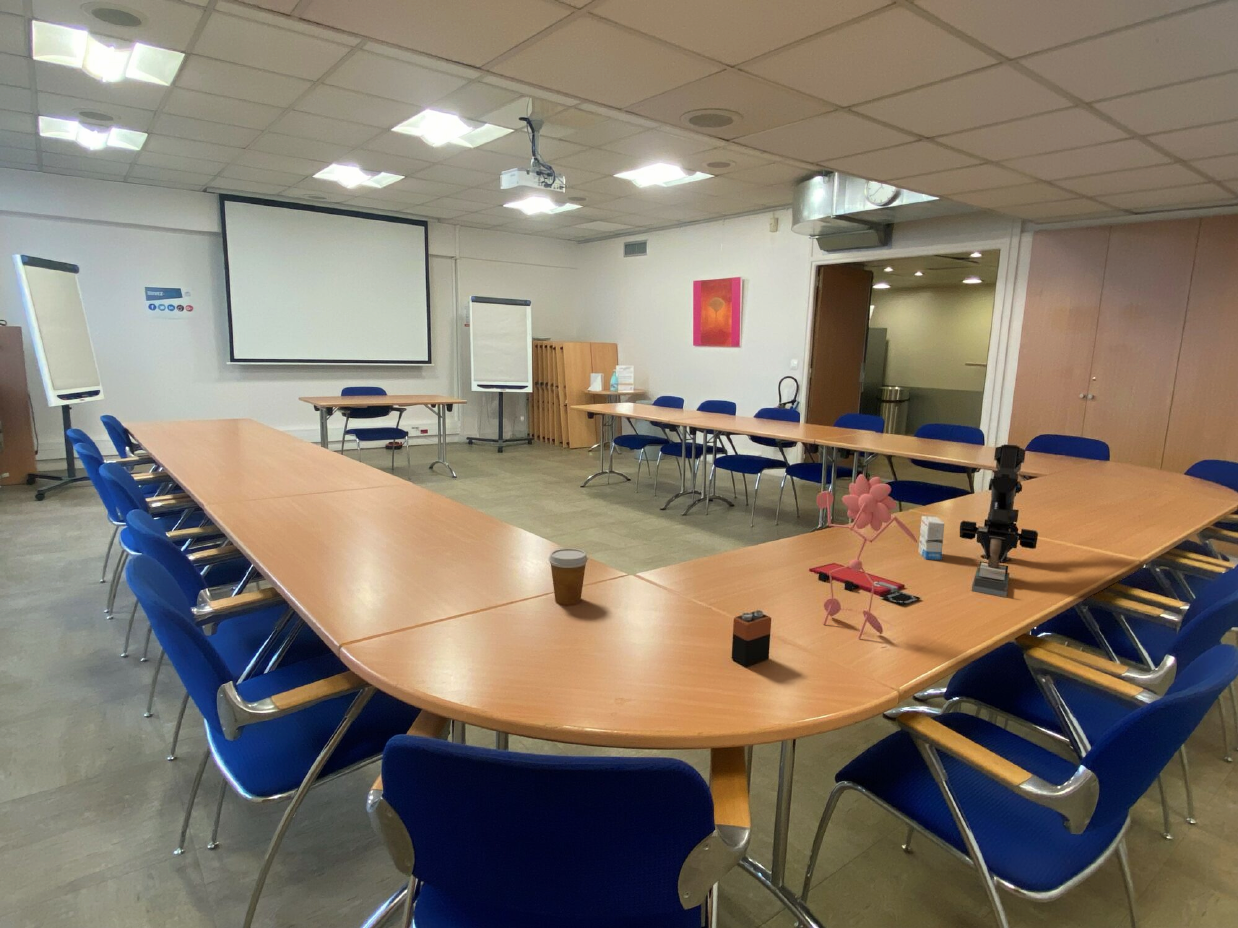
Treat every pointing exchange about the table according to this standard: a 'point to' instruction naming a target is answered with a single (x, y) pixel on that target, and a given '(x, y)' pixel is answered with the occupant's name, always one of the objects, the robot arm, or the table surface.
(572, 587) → the disposable coffee cup
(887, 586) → the red board with handle
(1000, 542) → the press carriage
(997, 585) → the rail
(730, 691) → the table surface
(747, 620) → the battery
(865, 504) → the figurine
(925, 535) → the ink box
